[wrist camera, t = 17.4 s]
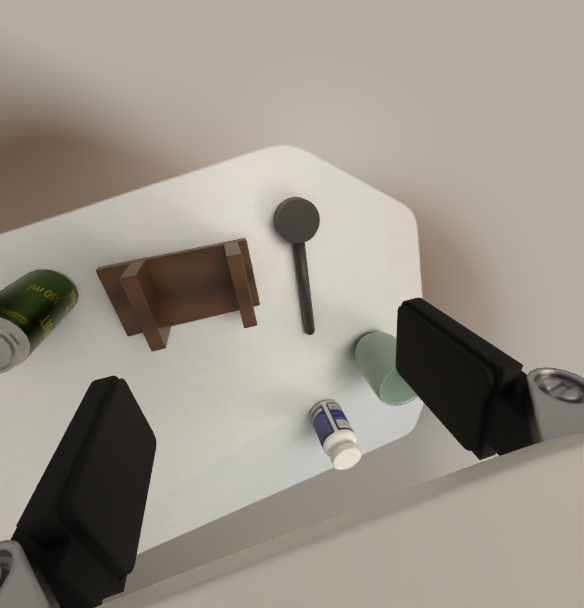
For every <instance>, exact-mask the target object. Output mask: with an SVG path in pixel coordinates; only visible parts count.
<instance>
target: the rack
mask: <svg viewBox="0 0 584 608" xmlns="http://www.w3.org/2000/svg"><path fill="white" fill-rule="evenodd" d="M96 271H97V274H98V276H99V278H100V280H101V282H102V284H103V286H104V288H105V290H106V292H107V294H108V296H109V298H110V300H111V302H112V304H113V306H114V309H115V311H116V313H117V315H118V317H119V319H120V321H121V323H122V325H123V327H124V329H125V331H126V333H127V335H128V336H131V335H135V334H140V333H144V336H145V338H146V340H147V342H148V344H149V347H150V349H151V351H156V350H160V349H164V348H166V345H167V341H168V337H169V332H170V328H171V326H173V325H177V324H182V323H186V322H190V321H194V320H198V319H203V318H207V317H211V316H215V315H219V314H224V313H228V312H232V311H236V310H240V314H241V318H242V321H243V325H244V328H248V327H252V326H256V325H257V321H256V316H255V312H254V308H253V306H257V305H260V302H259V297H258V293H257V288H256V283H255V279H254V274H253V269H252V264H251V260H250V255H249V250H248V245H247V241H246V239H245V238H243V239H238V240H233V241H228V242H223V243H218V244H213V245H208V246H203V247H198V248H193V249H188V250H183V251H178V252H173V253H168V254H163V255H158V256H153V257H148V258H143V259H138V260H133V261H128V262H123V263H118V264H113V265H108V266H103V267H99V268H98V269H97V270H96Z"/></svg>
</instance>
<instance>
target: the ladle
mask: <svg viewBox="0 0 584 608" xmlns="http://www.w3.org/2000/svg"><path fill="white" fill-rule="evenodd" d="M274 221H275V226H276V229H277V231H278V232H279V233H280V235H281V236H282V237H283V238H284V239H286V240H287V241H289V242H291V243H294V250H295V258H296V265H297V273H298V280H299V288H300V295H301V303H302V310H303V318H304V325H305V332H306V333H307V334H308V335H312V334H313V333H314V331H315V329H314V320H313V311H312V303H311V294H310V285H309V277H308V268H307V259H306V251H305V242H306V241H308V240H310V239H311V238H312V237H313V236H314V235H315V233H316V232H317V230H318V227H319V221H320V218H319V213H318V211H317V209H316V207H315V206H314V205H313V204H312V203H311V202H309V201H307V200H305V199H303V198H299V197H292V198H288V199H286V200H284V201H283V202H282V203H281V204H280V205H279V206H278V208H277V210H276V213H275V217H274Z"/></svg>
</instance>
